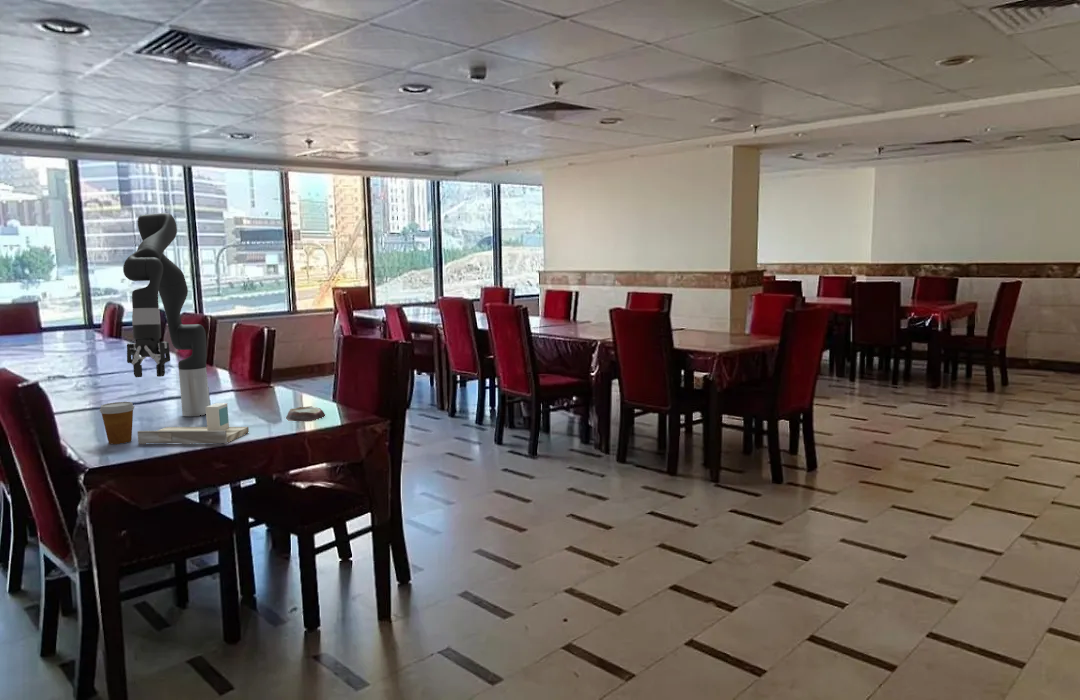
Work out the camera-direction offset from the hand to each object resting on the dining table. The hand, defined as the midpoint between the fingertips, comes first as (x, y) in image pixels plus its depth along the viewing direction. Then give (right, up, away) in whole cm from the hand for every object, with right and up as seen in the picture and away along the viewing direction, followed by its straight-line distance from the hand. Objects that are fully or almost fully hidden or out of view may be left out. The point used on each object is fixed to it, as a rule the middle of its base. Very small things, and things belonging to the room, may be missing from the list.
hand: (149, 376), depth 226 cm
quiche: (+35, -17, +39) cm, 55 cm away
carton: (+16, -17, +12) cm, 26 cm away
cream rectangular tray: (+9, -20, +10) cm, 24 cm away
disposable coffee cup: (-13, -21, +7) cm, 26 cm away
